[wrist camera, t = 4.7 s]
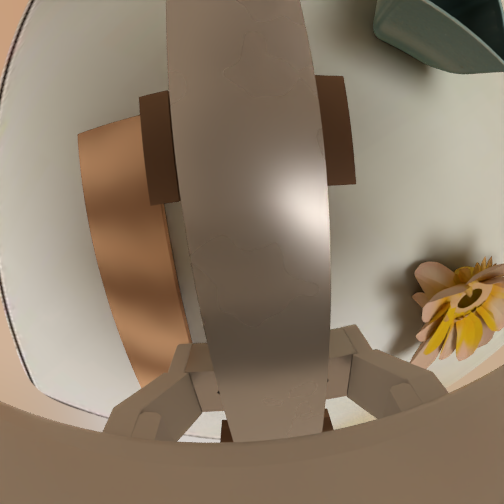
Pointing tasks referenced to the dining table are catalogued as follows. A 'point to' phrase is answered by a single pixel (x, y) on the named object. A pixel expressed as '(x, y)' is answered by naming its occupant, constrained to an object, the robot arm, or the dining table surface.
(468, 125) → the dining table surface
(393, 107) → the dining table surface
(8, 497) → the robot arm
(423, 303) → the decorative flower
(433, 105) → the dining table surface
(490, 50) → the flower pot
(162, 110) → the walnut post
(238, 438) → the steel rail
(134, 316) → the light wood flat board
